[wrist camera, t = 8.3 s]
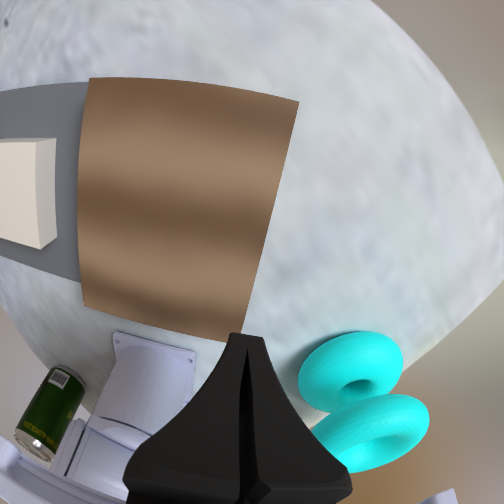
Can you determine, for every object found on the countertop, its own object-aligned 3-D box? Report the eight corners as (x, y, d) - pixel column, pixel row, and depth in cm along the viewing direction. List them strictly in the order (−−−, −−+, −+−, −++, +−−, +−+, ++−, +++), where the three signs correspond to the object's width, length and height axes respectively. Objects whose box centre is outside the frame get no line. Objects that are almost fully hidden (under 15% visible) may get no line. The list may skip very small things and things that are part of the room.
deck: (240, 319, 22) (237, 344, 20) (100, 285, 22) (84, 305, 19) (292, 105, 16) (299, 101, 13) (112, 82, 15) (89, 78, 12)
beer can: (47, 358, 27) (4, 428, 16) (80, 370, 27) (39, 448, 16) (60, 385, 29) (26, 450, 18) (92, 396, 29) (60, 469, 19)
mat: (91, 282, 22) (88, 285, 21) (-7, 249, 21) (-10, 251, 20) (100, 82, 15) (97, 81, 15) (-11, 94, 14) (-14, 94, 14)
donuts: (407, 403, 13) (447, 434, 15) (364, 304, 22) (411, 356, 24) (276, 465, 16) (348, 483, 19) (274, 368, 25) (335, 405, 28)
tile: (57, 237, 19) (40, 249, 17) (6, 224, 19) (-10, 234, 17) (56, 138, 16) (36, 142, 14) (3, 138, 16) (-16, 143, 14)
